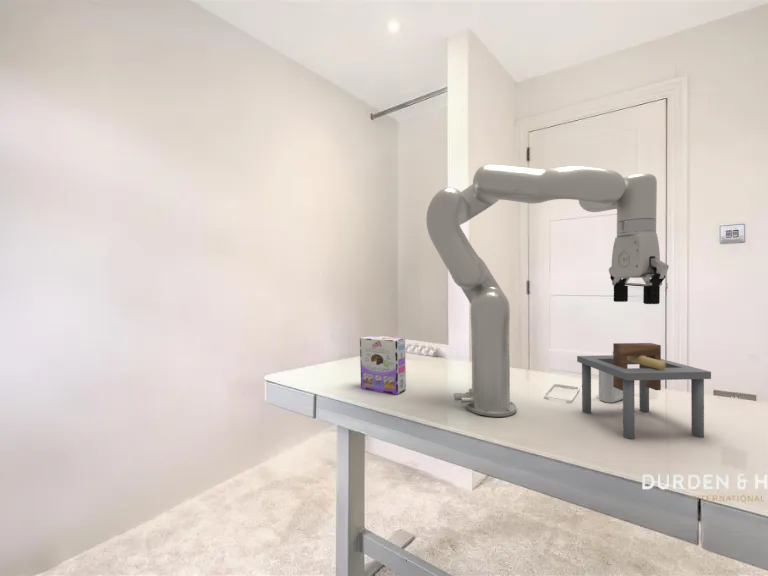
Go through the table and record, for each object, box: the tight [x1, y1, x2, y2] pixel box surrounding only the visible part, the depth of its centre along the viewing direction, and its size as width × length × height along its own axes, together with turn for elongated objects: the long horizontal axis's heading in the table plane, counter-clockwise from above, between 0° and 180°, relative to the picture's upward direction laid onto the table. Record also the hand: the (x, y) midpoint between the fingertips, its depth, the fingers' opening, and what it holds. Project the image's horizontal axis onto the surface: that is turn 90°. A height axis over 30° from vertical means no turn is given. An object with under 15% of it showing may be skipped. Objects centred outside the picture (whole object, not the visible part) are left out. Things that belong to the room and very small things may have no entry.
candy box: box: [359, 335, 407, 395], centre depth 111 cm, size 14×6×16 cm, turn 58°
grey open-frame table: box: [576, 354, 712, 440], centre depth 83 cm, size 18×18×16 cm
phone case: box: [543, 383, 581, 404], centre depth 105 cm, size 7×1×15 cm
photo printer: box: [598, 364, 629, 404], centre depth 100 cm, size 10×4×12 cm, turn 123°
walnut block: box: [612, 342, 662, 391], centre depth 83 cm, size 3×9×10 cm, turn 91°
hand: (635, 302), depth 83 cm, fingers open, 9 cm apart
